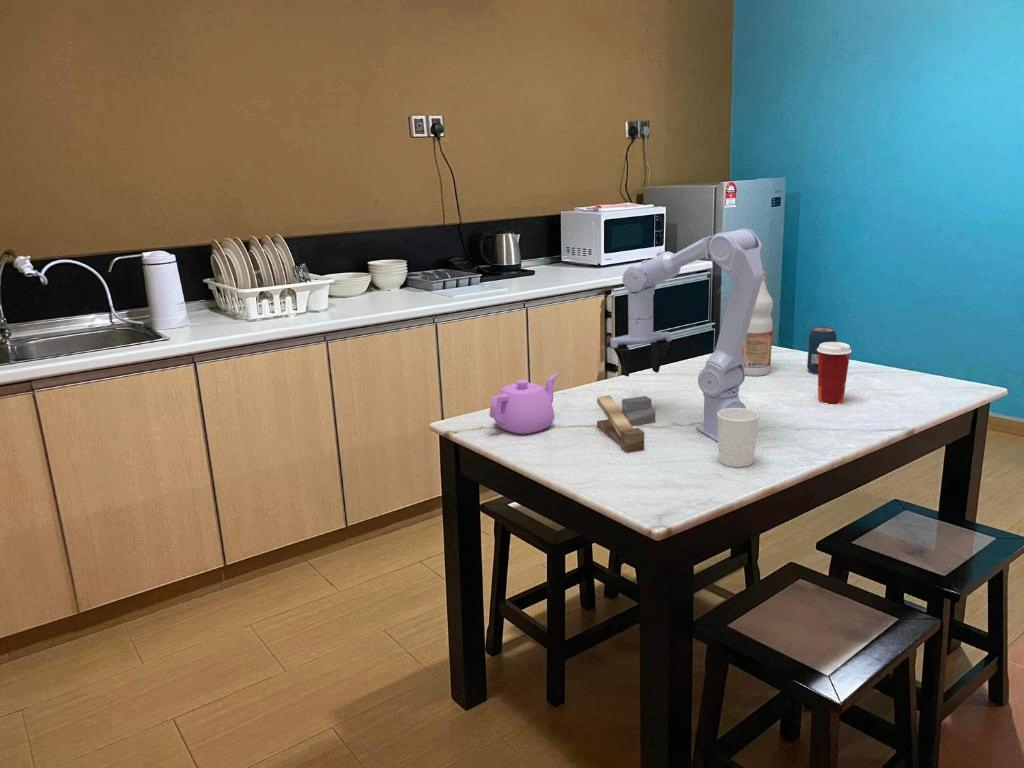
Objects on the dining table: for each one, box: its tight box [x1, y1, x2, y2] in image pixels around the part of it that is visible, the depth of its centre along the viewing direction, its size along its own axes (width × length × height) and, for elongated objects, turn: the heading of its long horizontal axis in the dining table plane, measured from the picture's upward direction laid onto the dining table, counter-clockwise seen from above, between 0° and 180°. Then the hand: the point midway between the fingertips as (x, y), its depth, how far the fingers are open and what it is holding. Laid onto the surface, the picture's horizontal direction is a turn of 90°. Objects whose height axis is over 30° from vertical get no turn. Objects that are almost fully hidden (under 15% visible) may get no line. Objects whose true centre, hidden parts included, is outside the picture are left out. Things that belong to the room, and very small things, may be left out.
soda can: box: [806, 326, 838, 375], centre depth 213 cm, size 7×7×12 cm
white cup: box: [717, 408, 760, 468], centre depth 157 cm, size 8×8×10 cm
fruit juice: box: [741, 269, 774, 377], centre depth 214 cm, size 9×9×28 cm
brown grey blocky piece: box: [596, 404, 656, 454], centre depth 175 cm, size 18×14×4 cm
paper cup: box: [817, 341, 853, 405], centre depth 189 cm, size 8×8×14 cm
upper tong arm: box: [596, 395, 634, 437], centre depth 174 cm, size 14×3×2 cm, turn 17°
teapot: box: [488, 373, 559, 435], centre depth 183 cm, size 13×20×11 cm, turn 128°
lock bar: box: [621, 395, 653, 411], centre depth 181 cm, size 3×6×2 cm, turn 107°
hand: (640, 373), depth 187 cm, fingers open, 7 cm apart
